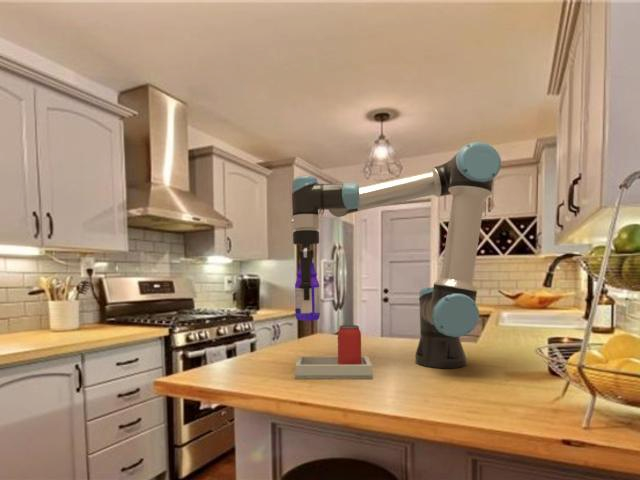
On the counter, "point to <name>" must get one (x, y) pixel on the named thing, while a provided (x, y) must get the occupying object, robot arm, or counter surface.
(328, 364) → the tray
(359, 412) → the counter surface
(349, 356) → the beer can
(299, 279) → the bottle
